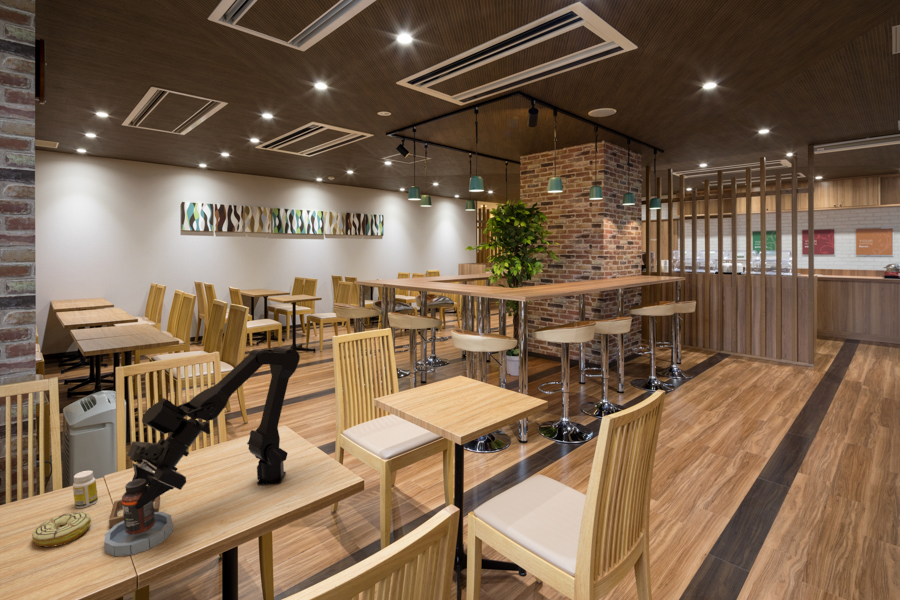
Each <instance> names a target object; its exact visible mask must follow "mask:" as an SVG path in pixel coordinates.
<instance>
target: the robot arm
mask: <svg viewBox="0 0 900 600" xmlns="http://www.w3.org/2000/svg"><path fill="white" fill-rule="evenodd" d="M300 357H301V355H300V353H299V352H298V350H297V349H293V348H290V347H286V346H277V347H275V348H274V349H253V350H251V351H250V352H249V353H248V355H247V356H245V357H244V358H243V359H242V361H240V362H239V363H238V364H237V365H236V366H235V367H234V368H232V369H231V370H230V371H229V372H228V373H227V374H226V375H225V376H224V377H223V378H222V379H220V380H219V382H218V383H216V384H214V385H213V386H210V387H208V388H206V389H204V390H202V391H200V392H199V393H198V394H197V395H195V396H193V397H192V398H191V399H190V400H189V401H187V402H185V403H182V404H179V405H175V404H174V403H173V402H171V401H170V400H168V399H167V398H164V397H163V398H161V400H160V401H159V402H156V403H154V404H152V405H151V407H148V409H146V411H145V412H144V414H143V416H142V420H141V421H142V424H144V425H145V426H148V427H150V428H151V429H153V430H155V431H157V432H159V433H161V434H163V435H166V434H168V433H169V434H168V436H167V437H165V439H164V438H160V439H159V440H158V441H157V442H156V443H155V442H145V441H134V440H133V441H131V444H130V447H129V450H128V452H127V454H126V456H127V457H129V459H130V460H131V461H132V467H133V470H134V471H133V472H134V474H133V477H132V479H131V481H133V480H136V479H145V480H146V484H147V487H146V489H145V490H144V492H143V493H142V495H141V496H140V498H139V500H138V501H137V503H136V505H135V508H136V509H140V508H142V507H143V506H145V505H146V504H148V503H149V502H151V501H152V500H154V499H155V498H157V497H158V496H160V497H161V496H162V495H163V494H165V493H167V492H168V491H170V490H174V489H177V490H180V491H181V490H182V489H183V488H184V486H185V484H186V483H187V477H186V476H185V475H184V474H182V473H180V472H178V471H177V470H178V469H179V468H177V467H176V466H177V465H178V464H179V463H180V460H181V459H183V457H188V456H189V455H190V452H189V451H188V450H189V449H190V447H191V446H192V444H193V443H194V442H195V440H196V439H197V438H198V437H199V435H200V434H201V432H203V433H205V434H207V435H210V434H211V430H210V422H208V421H213V420H215V419H216V418H217V417H219V415H220V414H221V413H222V412H223V410H224V409H225V407H226V406H227V405H228V402H229V400H230V398H231V396H232V395H233V394H234V393H235V392H236V391H237V390H239V388H240V387H241V386H243V385H244V384H245V383H246V382H247V381H248V380H249V379H250V378H251V377H252V376H253V375H254V374H255V373H257V372H258V370H259V369H260V368H261V367H262V366H264V365H269V369H270V370H269V371H270V374H271V378H270V381H269V386H268V390H267V394H266V395H267V396H266V399H265V403H264V407H263V412H262V416H261V419H260V420H261V421H260V423H259V426H258V427H257V428H256V429H255V430H254V429H253V430H252V429H251V430H250V432H249V440H248V441H247V443H246V444H247V445H248V451H249V452H250V453H251V454H252V455H254V457H255V458H256V459H258V462H257V463H258V464H257V466H256V473H257V475H256V476H257V477H256V478H257V479H256V480H258V481H257V482H256V483H257V486H260V485H263V486H264V485H276V484H277V485H278V484H279V485H280V484H281V483H282V481H283V479H284V477H285V476H286V474H287V472H286V471H284V470H285V467H284V462H285V461H286V460H287V457H288V452H287V451H285V450H284V449H282V448H281V447H280V442H281V441H280V440H281V438H280V433H279V423H280V418H281V415H282V409H283V406H284V402H285V398H286V397H285V396H286V392H287V389H288V384H289V380H290V378H291V377H292V376H293V375H294V374H295V372H296V371H297V368H298V365H299V362H300V359H301V358H300ZM185 417H188V419H186V418H185ZM199 419H201V420H202V421H203V422H202V421H199ZM133 462H134V463H133Z"/></svg>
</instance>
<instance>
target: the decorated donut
mask: <svg viewBox="0 0 900 600" xmlns="http://www.w3.org/2000/svg"><path fill="white" fill-rule="evenodd" d="M91 522H92V519H91V514H90V513H88V512H83V511H82V512H81V511H79V512H77V511H75V512H68V513H63V514H61V515H58V516H55V517H51V518H50V519H47V520H45V521H43V522H42V523H40V524H39V525H38V526H37V527H36V528H35V529H34V531H33V532H32V533H31V536H32V540H33V542H34V543H35V544H36V545H37V546H38V547H41V546H52V547H56V546H55V545H58V546H61V545H60V544H62V545H65V544H67V542H68V543H70V542H71V541H74V540H77V539H78V538H80V537H81V536H82V535H83V534H84V533H85V532H87V530H88V529H89V527H90V525H91ZM69 541H70V542H69ZM64 543H65V544H64Z"/></svg>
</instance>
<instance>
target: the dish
mask: <svg viewBox="0 0 900 600" xmlns="http://www.w3.org/2000/svg"><path fill="white" fill-rule="evenodd" d="M173 531H174V529H173V519H172V514H170V513H167V512H164V511H159V512H155V524H154V525H153V527H151V528H150V529H149V530H147V531H145V532H142V533H139V534H128V533H126V531H125V525H124V521H122V522H120V523H118V524H116V525H114V526H113V527H112V528H111V529H110V528H109V530H108V531H107V532H105V534H104V542H103V543H104V552H105V553H107V554H108V553H109V554H108V555H110V554H111V556H113V557H123V556H124V557H125V556H134V555H136V554H137V555H138V554H140V553H143V552H145V551H148V550H151V549H153V548H155V547H156V546H158V545H160V544H161V543H163V542H164V541H166V540H167V539H168V538H169V536H171V534H172V533H173Z"/></svg>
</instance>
